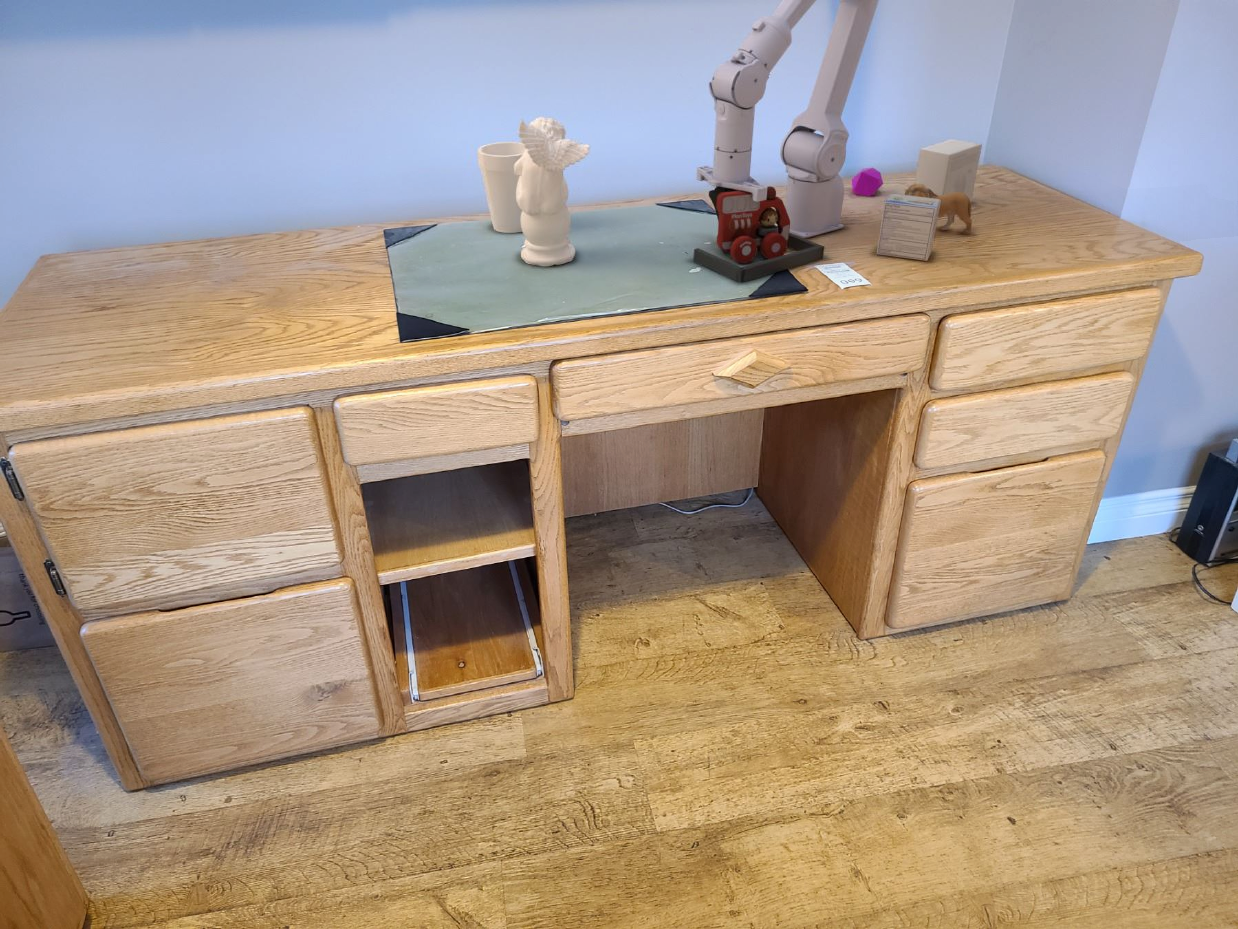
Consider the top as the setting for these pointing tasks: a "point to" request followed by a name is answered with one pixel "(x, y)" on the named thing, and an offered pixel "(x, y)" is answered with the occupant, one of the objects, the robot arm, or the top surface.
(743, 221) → the toy fire truck
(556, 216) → the cherub figurine
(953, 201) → the lion figurine
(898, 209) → the medicine box
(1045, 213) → the top surface
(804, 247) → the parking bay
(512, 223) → the white flower pot
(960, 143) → the cosmetics box
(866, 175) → the crystal
